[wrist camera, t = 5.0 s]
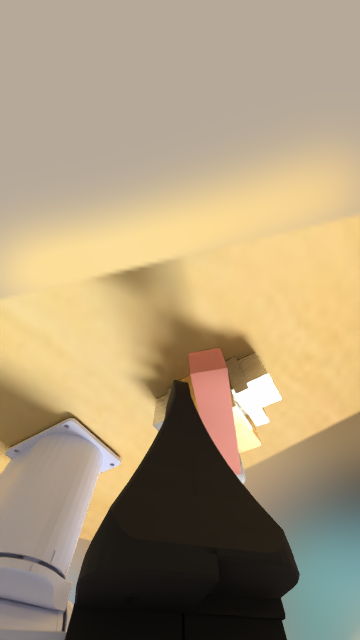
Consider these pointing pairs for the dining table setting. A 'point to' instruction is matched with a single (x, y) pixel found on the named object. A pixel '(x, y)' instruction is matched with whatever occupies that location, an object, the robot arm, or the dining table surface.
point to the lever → (216, 404)
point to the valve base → (238, 399)
